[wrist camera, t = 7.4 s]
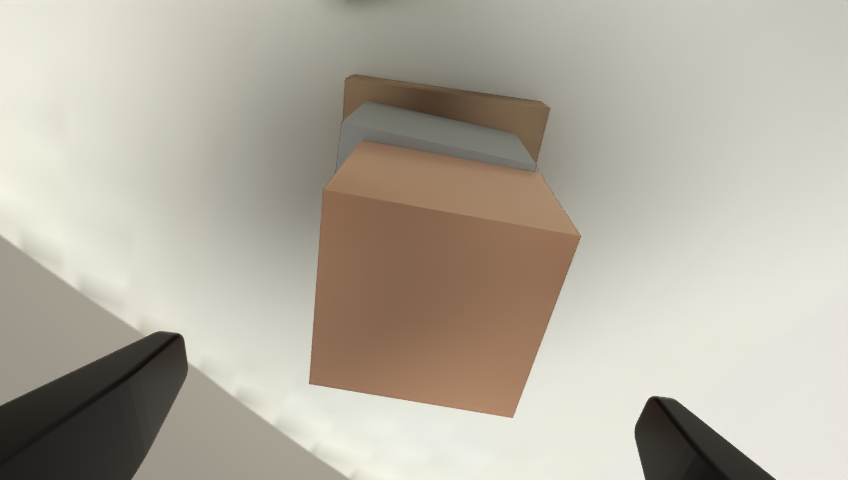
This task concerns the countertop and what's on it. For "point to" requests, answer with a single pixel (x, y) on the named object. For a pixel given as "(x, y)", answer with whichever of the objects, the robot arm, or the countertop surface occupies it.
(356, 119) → the grey block
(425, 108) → the walnut slab
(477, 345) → the terracotta block
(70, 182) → the countertop surface
